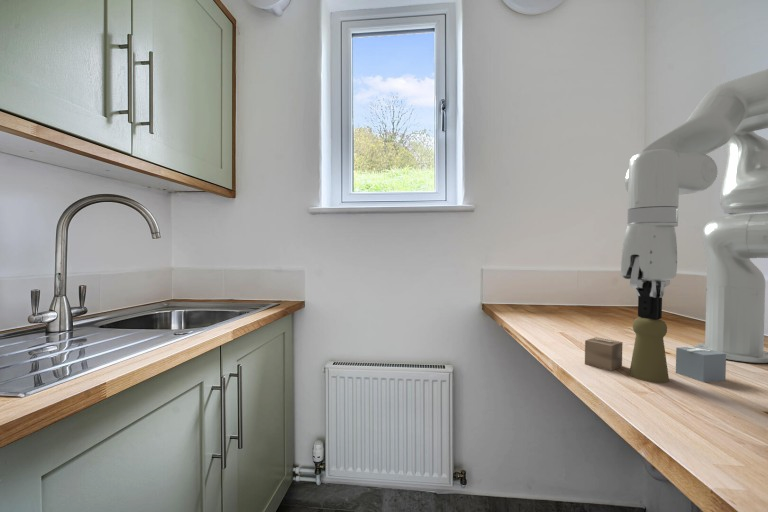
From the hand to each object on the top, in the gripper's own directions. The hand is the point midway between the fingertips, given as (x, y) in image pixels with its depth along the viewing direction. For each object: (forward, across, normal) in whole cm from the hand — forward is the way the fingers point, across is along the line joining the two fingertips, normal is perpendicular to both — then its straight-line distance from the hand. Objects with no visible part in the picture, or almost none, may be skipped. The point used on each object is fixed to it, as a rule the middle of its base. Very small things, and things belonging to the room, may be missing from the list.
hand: (649, 317), depth 67 cm
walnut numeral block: (+11, +1, -8) cm, 14 cm away
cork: (+11, 0, 0) cm, 11 cm away
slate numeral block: (+11, -9, +4) cm, 15 cm away
